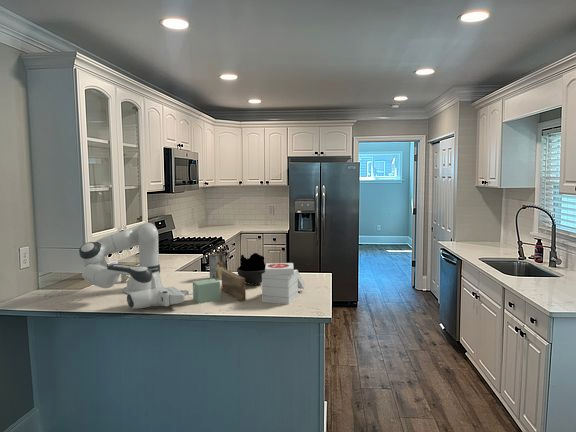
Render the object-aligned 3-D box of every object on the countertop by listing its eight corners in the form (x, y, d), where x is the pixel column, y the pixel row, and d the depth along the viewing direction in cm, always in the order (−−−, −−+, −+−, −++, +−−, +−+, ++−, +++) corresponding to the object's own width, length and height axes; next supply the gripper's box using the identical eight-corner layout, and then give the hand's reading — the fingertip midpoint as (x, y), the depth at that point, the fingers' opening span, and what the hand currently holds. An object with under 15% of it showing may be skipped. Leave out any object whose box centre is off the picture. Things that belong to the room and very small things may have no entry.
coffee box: (219, 276, 288) (219, 252, 286) (226, 278, 284) (226, 253, 282) (209, 279, 281) (208, 254, 279) (216, 280, 277) (215, 255, 275)
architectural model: (126, 281, 281) (125, 270, 280) (132, 283, 276) (131, 271, 276) (121, 282, 278) (120, 271, 277) (127, 284, 274) (126, 272, 273)
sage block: (198, 303, 228) (198, 285, 227) (193, 299, 235) (192, 281, 235) (220, 300, 234) (219, 281, 233) (214, 296, 242) (213, 278, 241)
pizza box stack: (308, 290, 250) (307, 259, 248) (290, 305, 222) (290, 270, 220) (277, 288, 257) (276, 258, 255) (256, 302, 228) (255, 268, 227)
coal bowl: (273, 280, 275) (272, 251, 273) (265, 289, 255) (265, 257, 253) (242, 279, 278) (241, 250, 276) (233, 287, 259) (232, 256, 257)
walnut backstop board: (240, 301, 231) (240, 279, 229) (222, 290, 253) (221, 270, 252) (245, 300, 232) (245, 278, 231) (226, 289, 254) (226, 269, 253)
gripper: (156, 297, 231) (182, 293, 238) (166, 307, 214) (194, 302, 220) (156, 285, 231) (181, 282, 238) (166, 294, 213) (193, 290, 220)
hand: (187, 292), depth 229 cm, fingers closed
